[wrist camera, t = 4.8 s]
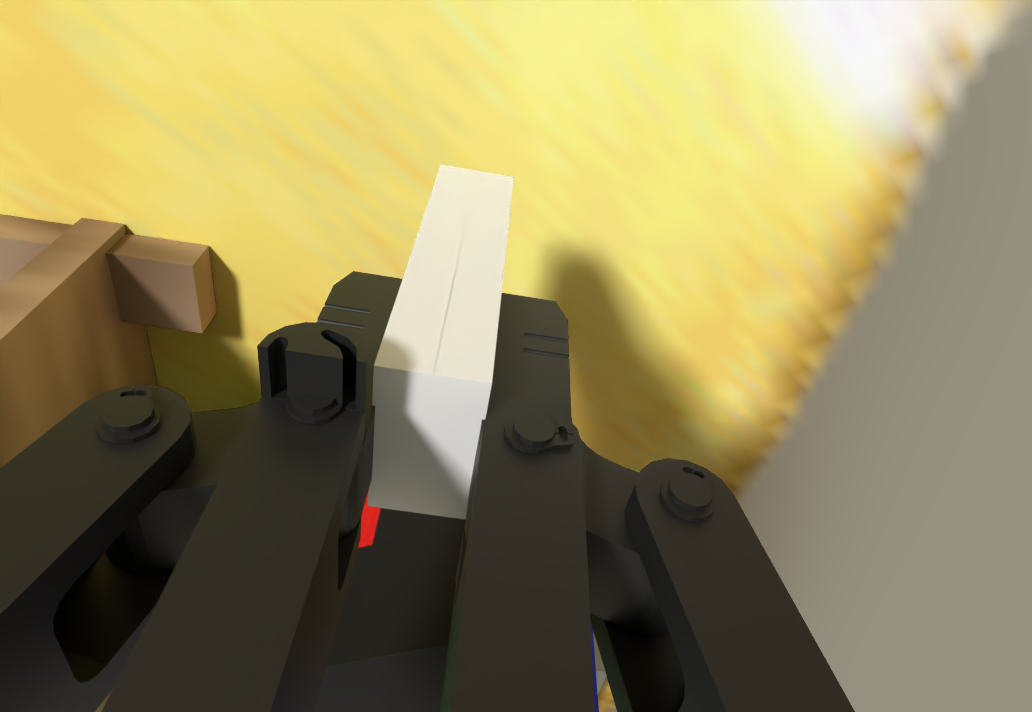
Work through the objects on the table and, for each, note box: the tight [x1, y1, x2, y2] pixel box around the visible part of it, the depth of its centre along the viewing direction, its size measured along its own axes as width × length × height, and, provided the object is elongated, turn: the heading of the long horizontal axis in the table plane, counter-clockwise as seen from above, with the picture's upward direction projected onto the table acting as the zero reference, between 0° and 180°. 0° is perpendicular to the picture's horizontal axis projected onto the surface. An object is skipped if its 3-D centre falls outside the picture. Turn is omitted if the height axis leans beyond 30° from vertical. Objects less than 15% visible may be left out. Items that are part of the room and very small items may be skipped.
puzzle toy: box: [314, 494, 599, 712], centre depth 23 cm, size 10×10×10 cm
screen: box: [0, 214, 217, 712], centre depth 18 cm, size 6×15×16 cm, turn 171°
